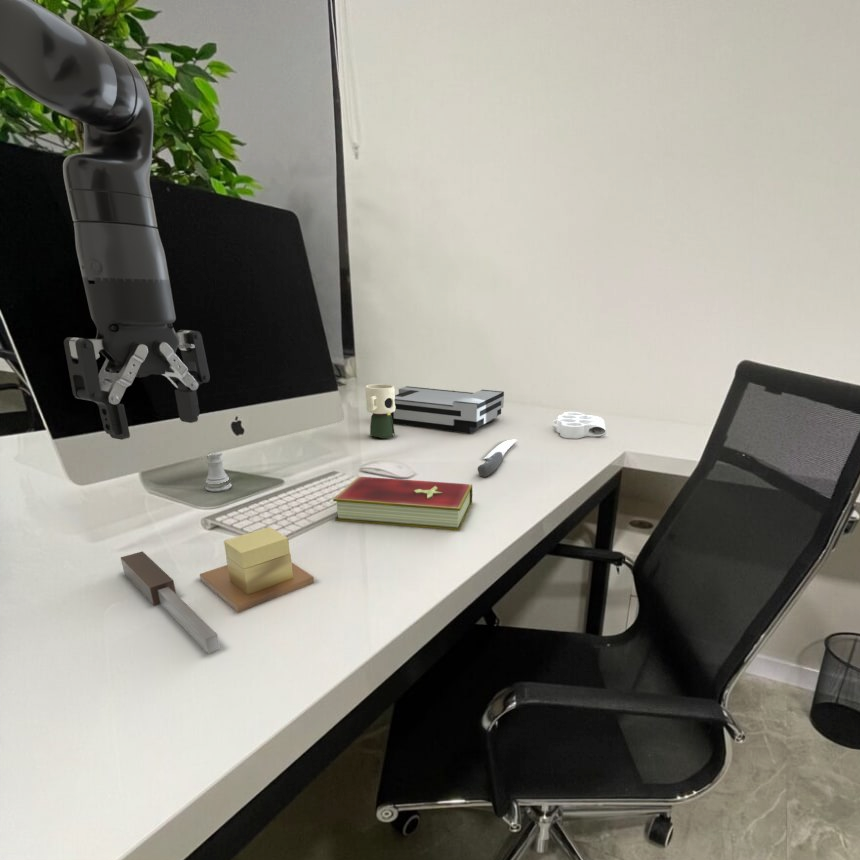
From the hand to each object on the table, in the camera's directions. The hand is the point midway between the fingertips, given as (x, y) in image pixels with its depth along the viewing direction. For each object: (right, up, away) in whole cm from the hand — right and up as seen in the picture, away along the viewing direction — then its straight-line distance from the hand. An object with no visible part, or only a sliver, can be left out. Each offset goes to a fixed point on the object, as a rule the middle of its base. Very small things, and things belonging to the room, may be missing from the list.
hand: (156, 429), depth 62 cm
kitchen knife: (+38, +1, +65) cm, 75 cm away
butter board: (+7, -19, +10) cm, 22 cm away
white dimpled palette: (+60, +11, +91) cm, 110 cm away
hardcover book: (+23, -10, +34) cm, 42 cm away
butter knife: (-1, -21, +4) cm, 21 cm away
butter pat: (+8, -15, +7) cm, 19 cm away
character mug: (+9, +8, +79) cm, 80 cm away
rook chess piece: (-14, -6, +41) cm, 44 cm away
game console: (+21, +15, +97) cm, 101 cm away
